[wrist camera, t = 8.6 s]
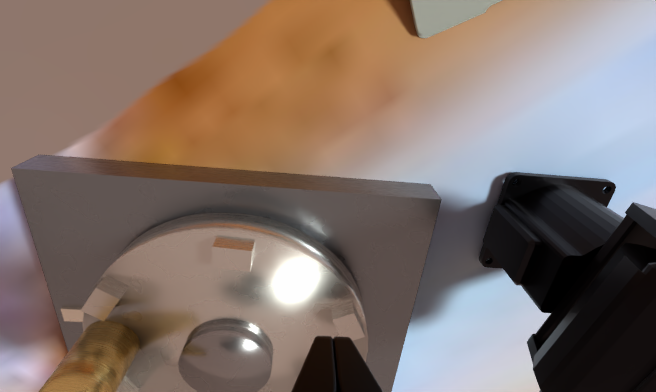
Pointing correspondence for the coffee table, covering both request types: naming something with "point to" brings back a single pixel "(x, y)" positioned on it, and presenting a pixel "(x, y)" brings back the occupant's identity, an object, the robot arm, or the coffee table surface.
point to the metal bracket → (445, 14)
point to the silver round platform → (211, 310)
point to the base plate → (234, 197)
